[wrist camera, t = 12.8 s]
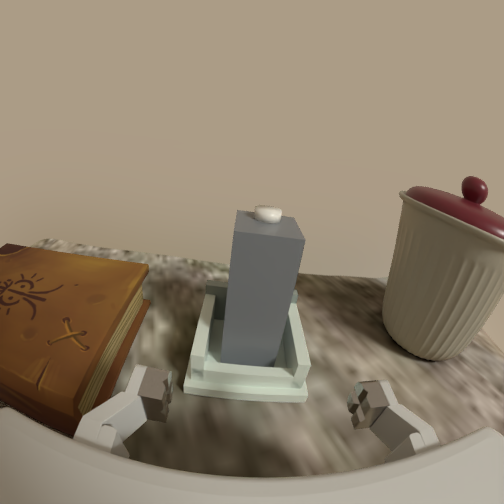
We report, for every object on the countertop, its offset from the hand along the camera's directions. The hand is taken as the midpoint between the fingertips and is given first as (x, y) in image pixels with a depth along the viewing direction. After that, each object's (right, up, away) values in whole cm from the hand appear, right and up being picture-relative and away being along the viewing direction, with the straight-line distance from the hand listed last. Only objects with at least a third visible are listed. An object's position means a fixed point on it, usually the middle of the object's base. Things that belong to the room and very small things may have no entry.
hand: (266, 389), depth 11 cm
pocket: (-1, -4, +14) cm, 15 cm away
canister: (+22, -5, +19) cm, 30 cm away
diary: (-23, -3, +10) cm, 26 cm away
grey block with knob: (-1, -3, +14) cm, 14 cm away
